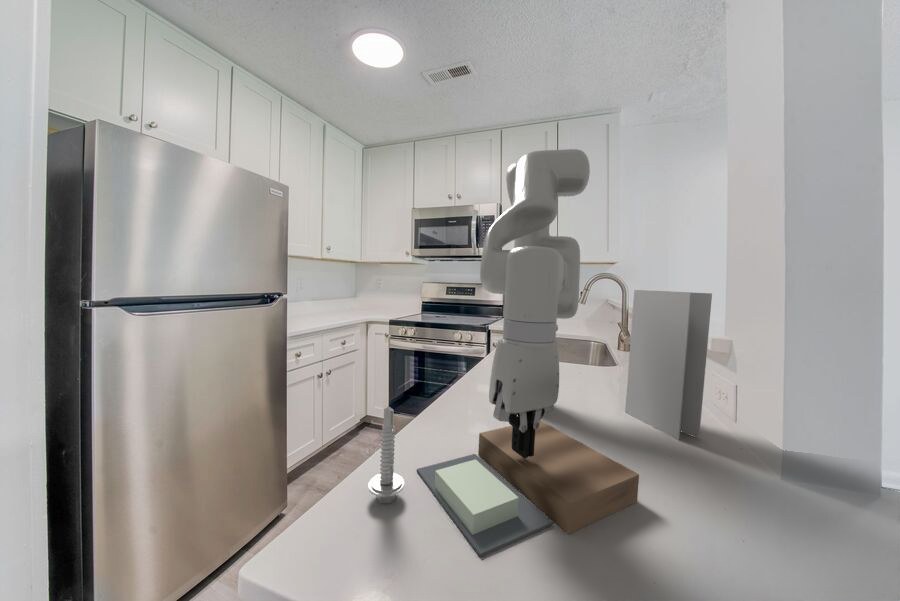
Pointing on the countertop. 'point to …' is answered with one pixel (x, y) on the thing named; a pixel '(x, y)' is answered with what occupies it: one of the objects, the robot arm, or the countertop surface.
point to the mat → (499, 534)
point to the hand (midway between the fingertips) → (522, 452)
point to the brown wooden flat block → (562, 476)
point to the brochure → (668, 359)
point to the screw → (387, 464)
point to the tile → (476, 495)
